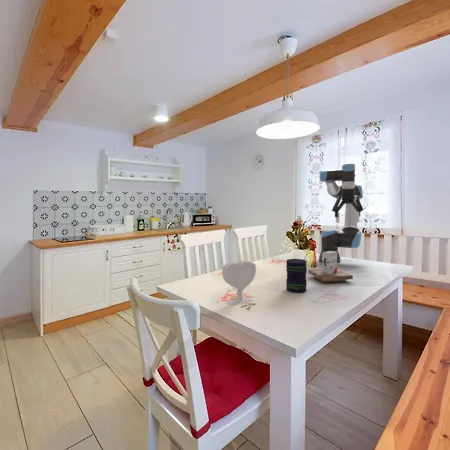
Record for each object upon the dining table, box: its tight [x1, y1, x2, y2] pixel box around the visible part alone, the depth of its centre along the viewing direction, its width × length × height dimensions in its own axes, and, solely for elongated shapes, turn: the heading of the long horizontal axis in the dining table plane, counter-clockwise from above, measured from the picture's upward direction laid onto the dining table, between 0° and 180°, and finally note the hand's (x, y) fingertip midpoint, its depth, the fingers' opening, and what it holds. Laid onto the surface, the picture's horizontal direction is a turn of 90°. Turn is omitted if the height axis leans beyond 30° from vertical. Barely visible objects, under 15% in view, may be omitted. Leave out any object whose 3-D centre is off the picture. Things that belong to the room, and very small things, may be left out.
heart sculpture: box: [221, 259, 257, 307], centre depth 120 cm, size 16×5×18 cm, turn 118°
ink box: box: [321, 251, 338, 274], centre depth 152 cm, size 8×5×12 cm, turn 130°
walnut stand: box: [308, 268, 354, 284], centre depth 153 cm, size 17×17×4 cm
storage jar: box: [285, 258, 308, 294], centre depth 135 cm, size 10×10×15 cm
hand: (347, 222), depth 172 cm, fingers open, 13 cm apart
